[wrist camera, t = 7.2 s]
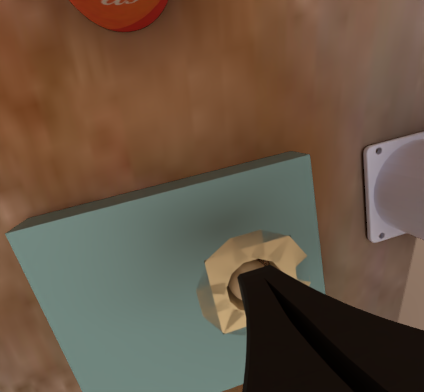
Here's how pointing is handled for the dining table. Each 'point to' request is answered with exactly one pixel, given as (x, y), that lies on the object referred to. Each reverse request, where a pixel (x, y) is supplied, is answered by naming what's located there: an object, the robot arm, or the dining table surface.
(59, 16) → the dining table surface
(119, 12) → the coffee cup
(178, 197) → the hole board
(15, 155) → the dining table surface
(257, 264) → the maple ball
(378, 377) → the robot arm
